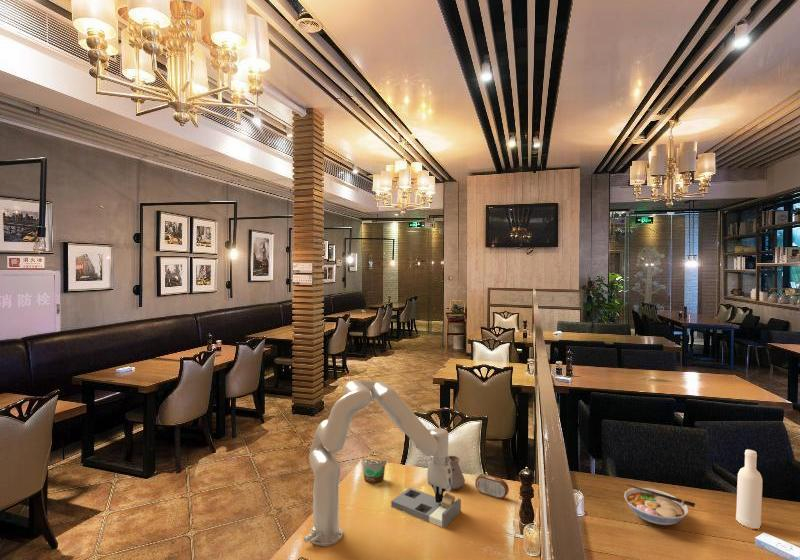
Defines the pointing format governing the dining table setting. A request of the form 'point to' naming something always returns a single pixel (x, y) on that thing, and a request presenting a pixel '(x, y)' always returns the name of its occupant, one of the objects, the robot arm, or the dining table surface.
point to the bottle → (749, 492)
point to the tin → (492, 486)
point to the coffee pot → (456, 473)
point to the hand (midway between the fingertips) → (439, 501)
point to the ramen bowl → (656, 505)
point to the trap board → (426, 507)
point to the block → (448, 500)
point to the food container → (373, 470)
